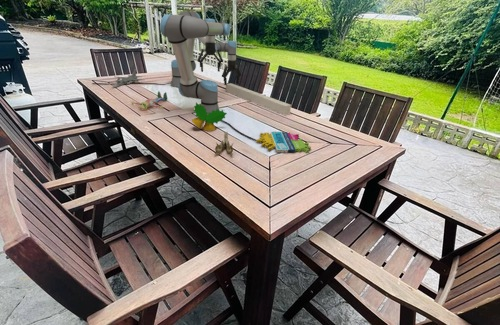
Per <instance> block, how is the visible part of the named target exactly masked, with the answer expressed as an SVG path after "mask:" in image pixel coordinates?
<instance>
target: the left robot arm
mask: <svg viewBox="0 0 500 325" xmlns="http://www.w3.org/2000/svg"><path fill="white" fill-rule="evenodd" d="M178 15H184V16H192V17H195V18H199V19H202V18H201V16H200V14H199V13H198V12H196V11H193V10H192V11H191V10H183V11H180V12H179V14H178ZM196 39H197V40H198V41H199V42H200V43H201V44H203V45H204V46H205V43H206V41H205V37H200V38H193V39H187V41H186V44H187V48H188V52H189V56H190V61H191V65H192V69H193V72H194V71H195V70H196V68H197V63H196V61H195V58H194V51H195V42H196ZM215 49H219V52H220V53H227V65H225V66H224V69H223V71H222V74H221V78H223V85H224V86H226V85H227V84H228V81H227V79H228V78H227V77H228V75H229V73H230V72H234V73H235V75H236V76H235V84H236V85H238V84H239V81H240V77H241V76H242V73H241V70H240V67H239V65H237V41H235V40H227V42H224V41H223V42H221V41H217V42H215ZM215 54H217V52H215ZM170 67H171V68H170V69H171V81H170V82H168V83H156V82H136V83H135V82H132V83H130V84H129V85H159V86H165V85H170V86H171V87H173V88H178V87H179V86H178V85H179V82H180V79H181V75H180V71H179V68H178V64H177V61H176V59H173V60H171V63H170ZM116 83H117V82H116ZM116 83H112V85H114V84H116ZM91 84H92V85H108V82H107V83H106V82H105V83H103V82H102V83H101V82H92V83H91Z"/></svg>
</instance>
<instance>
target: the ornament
mask: <svg viewBox="0 0 500 325" xmlns="http://www.w3.org/2000/svg"><path fill="white" fill-rule="evenodd" d="M219 110H220V108H219V109H217V110H216V111H214V110H212V112H211V113H208V112H206V109H204V106H201V103H198V102H195V105H194V106H193V112H194V113H195V118H192V119H191V122H192V123H193V125H195V127H197V128H198V129H202V130H203V131H206V132H212V131H213V132H214V131H215V130H216V126H215V124H218V123H219V122H222V120H223V119H226V115H227V114H228V113H227V112H224V110H223V109H221V110H220V111H219ZM207 113H208V115H207ZM214 123H215V124H214ZM222 123H223V122H222Z"/></svg>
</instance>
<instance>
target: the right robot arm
mask: <svg viewBox="0 0 500 325" xmlns="http://www.w3.org/2000/svg"><path fill="white" fill-rule="evenodd" d="M159 24H160V25H159V27H160V34H161V35H162V36H163V37H165V38H166V39H167V42H168V43H169V44H170V45H171V46H172V50H173V53H174V56H175V57H174V58H175V60H176V61H177V64H178V68H179V71H180V75H181V79H180V82H179V85H178V86H179V87H177V88H178V92H179V94H180V95H181V96H182V97H184V98H188V99H189V98H190V99H196V100H200V104H201V106H204V109H206V112H208V113H211V112H212V110H214V111H216V110H217V109H219V111H221V110H220V108H219V102H218V99H219V98H218V97H219V88H218V84H217V82H216V81H213V80H210V79H201V80H200V81H198V77H197V76H196V75H195V74H194V73H195V72H194V71H193V69H192V65H191V61H190V56H189V52H188V48H187V44H186V41H187V39H193V38H195V39H197V38H200V37H205V41H206V43H205V45H204V46H205V48H201V49H200V53H199V56H198V58H197V60H196V61H197V62H198V63H199V68H200V72H202V73H203V72H204V63H203V62H204V61H205V59H206V58H207V56H214V58H215V59H216V61H217V72H218V73H219V72H221V67H222V63H223V62H224V59H223V57H222V55H221V52H219V49H215V43H216V36H224V37H226V36H229V35H230V32H231V26H230V24H229V23H225V22H217V21H216V19H213V18H205V19H203V18H201V19H199V18H195V17H192V16H184V15H179V14H172V13H171V14H169V13H168V14H167V13H166V14H164V15H163V16H162V18H161V20H160V23H159ZM215 52H216V53H215ZM203 54H204V55H203ZM208 113H207V115H208ZM222 123H225V124H227V125H228V126H229V127H230V128H231V129H233V130H234V131H235V132H237V133H238V134H240V135H242V136H243V137H246V138H248V139H250V140H252V141H254V142H256V141H257V139H256V138H254V137H252V136H249V135H246V134H245V133H243V132H241V131H239V130H238V129H237V128H235V127H234V126H233V125H231V123H229V122H227V121H225V120H223V119H222ZM262 143H263V142H260V143H259V144H262ZM270 146H272V145H270Z"/></svg>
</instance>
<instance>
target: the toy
mask: <svg viewBox="0 0 500 325" xmlns="http://www.w3.org/2000/svg"><path fill="white" fill-rule="evenodd" d="M167 100H168V94H167V92H166V91H165V92H164V93H163V96H162V94H161V92H160V91H157V97H155V98H148V99H146V100H145V101H142V102H135V101H134V100H132V101H130V103H131V105H139V106H138V107H137V109H140V111H141V110H142V111H145V110H148V108H159V109H161V110H165V108H166V107H165V106H163V104H161V105H157V104H158V103H159V102H160V101H163V102H166V101H167Z"/></svg>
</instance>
